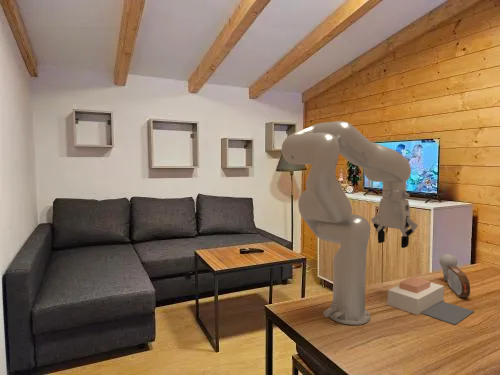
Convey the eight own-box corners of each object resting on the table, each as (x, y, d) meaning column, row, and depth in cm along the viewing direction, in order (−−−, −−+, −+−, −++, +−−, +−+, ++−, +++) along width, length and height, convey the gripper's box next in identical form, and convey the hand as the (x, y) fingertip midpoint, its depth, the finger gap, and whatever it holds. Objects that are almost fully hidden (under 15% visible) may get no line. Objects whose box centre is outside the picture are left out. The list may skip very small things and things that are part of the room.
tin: (470, 301, 118) (471, 277, 117) (460, 300, 118) (461, 276, 118) (454, 285, 132) (455, 263, 132) (445, 284, 133) (445, 263, 132)
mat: (455, 325, 101) (455, 324, 101) (420, 313, 109) (420, 312, 109) (474, 311, 109) (474, 311, 109) (440, 301, 117) (440, 300, 117)
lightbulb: (439, 277, 141) (440, 251, 140) (457, 280, 137) (458, 253, 136) (437, 282, 136) (438, 254, 135) (455, 285, 132) (456, 257, 131)
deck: (417, 315, 107) (418, 299, 107) (387, 304, 115) (387, 289, 115) (443, 300, 118) (444, 285, 118) (414, 291, 126) (414, 278, 126)
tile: (417, 293, 112) (417, 287, 112) (399, 288, 116) (399, 282, 116) (430, 286, 117) (430, 281, 117) (412, 282, 122) (413, 276, 122)
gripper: (424, 196, 116) (422, 248, 118) (377, 192, 130) (376, 238, 132) (413, 198, 112) (411, 251, 113) (365, 194, 125) (364, 241, 127)
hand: (392, 244), depth 122 cm, fingers open, 8 cm apart
